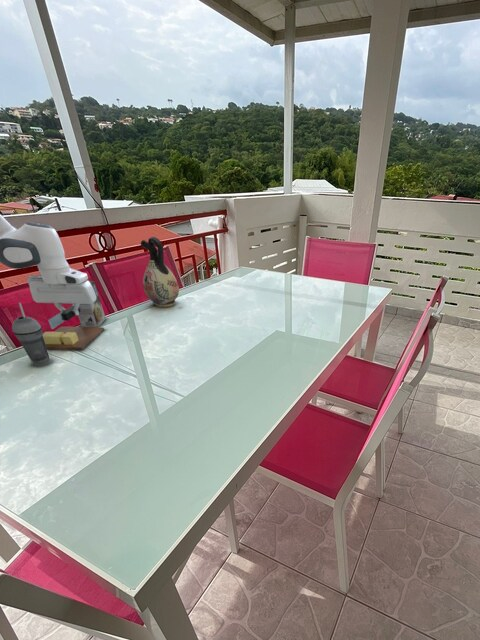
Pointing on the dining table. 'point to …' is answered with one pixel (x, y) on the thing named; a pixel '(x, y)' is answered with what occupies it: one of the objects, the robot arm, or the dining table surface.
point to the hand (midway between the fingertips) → (70, 314)
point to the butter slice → (70, 338)
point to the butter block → (53, 337)
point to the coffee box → (91, 311)
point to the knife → (62, 317)
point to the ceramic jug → (159, 276)
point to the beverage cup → (31, 339)
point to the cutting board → (83, 334)
